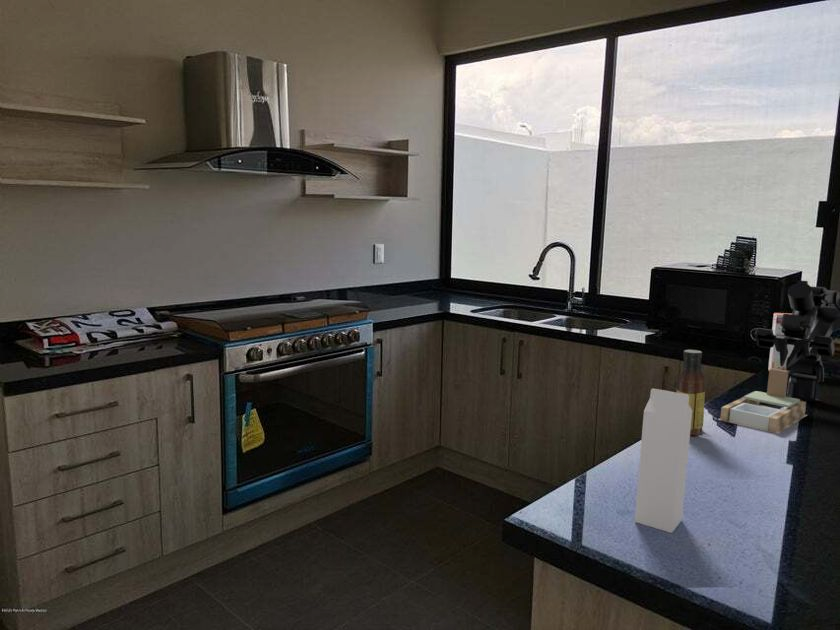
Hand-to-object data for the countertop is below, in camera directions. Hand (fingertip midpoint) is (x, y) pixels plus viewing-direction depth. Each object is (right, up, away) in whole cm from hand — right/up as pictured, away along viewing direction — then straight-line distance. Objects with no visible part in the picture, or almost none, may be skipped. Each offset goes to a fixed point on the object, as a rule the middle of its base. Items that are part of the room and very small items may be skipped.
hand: (784, 366), depth 171 cm
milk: (-59, -20, -66) cm, 91 cm away
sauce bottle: (-34, -14, -19) cm, 42 cm away
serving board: (-9, -13, -7) cm, 18 cm away
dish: (-14, -13, -12) cm, 22 cm away
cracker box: (+31, -7, +50) cm, 59 cm away
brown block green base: (-6, -9, -4) cm, 11 cm away
